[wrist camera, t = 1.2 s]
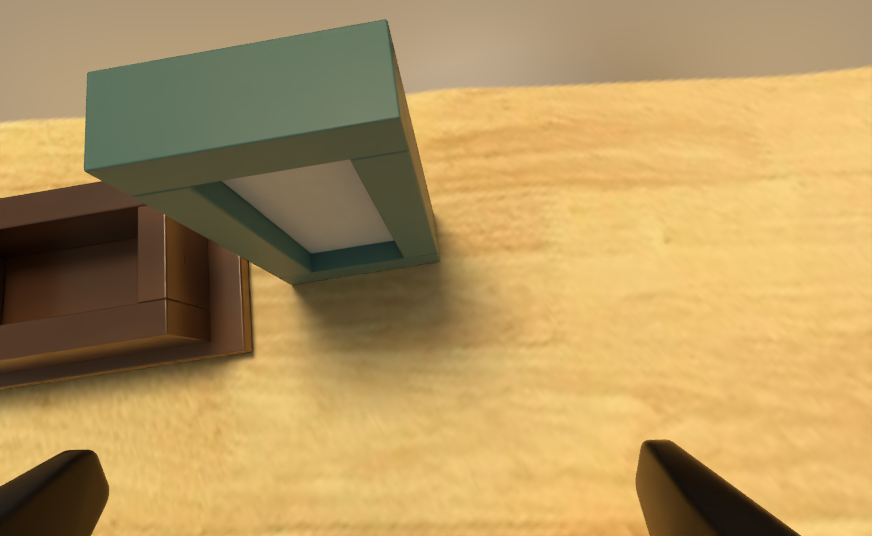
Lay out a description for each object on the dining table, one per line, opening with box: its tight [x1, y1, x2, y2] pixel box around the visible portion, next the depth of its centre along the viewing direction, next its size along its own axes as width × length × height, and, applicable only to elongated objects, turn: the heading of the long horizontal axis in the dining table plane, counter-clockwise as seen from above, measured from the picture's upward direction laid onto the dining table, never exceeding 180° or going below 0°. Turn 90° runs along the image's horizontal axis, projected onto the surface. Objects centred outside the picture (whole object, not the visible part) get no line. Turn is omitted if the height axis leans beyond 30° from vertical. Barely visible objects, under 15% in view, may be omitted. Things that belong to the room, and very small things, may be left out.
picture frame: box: [84, 20, 440, 285], centre depth 17 cm, size 2×7×12 cm, turn 98°
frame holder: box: [0, 181, 252, 390], centre depth 22 cm, size 8×14×4 cm, turn 98°
